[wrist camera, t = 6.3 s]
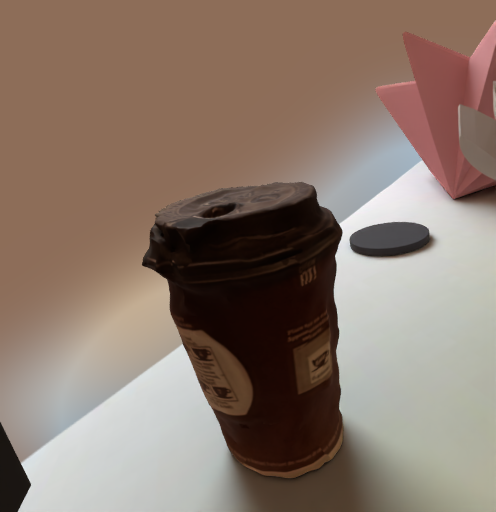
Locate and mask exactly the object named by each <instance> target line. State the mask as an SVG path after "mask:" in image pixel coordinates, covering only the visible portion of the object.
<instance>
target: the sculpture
mask: <svg viewBox="0 0 496 512" xmlns="http://www.w3.org/2000/svg"><path fill="white" fill-rule="evenodd" d="M403 39H404V44H405V47H406V51H407V54H408V57H409V61H410V64H411V68H412V71H413V74H414V78H415V81H411V82H405V83H398V84H391V85H384V86H379V87H377V88H376V92H377V95H378V96H379V98H380V99H381V101H382V102H383V103H384V105H385V107H386V108H387V109H388V111H389V112H390V114H391V115H392V117H393V118H394V120H395V121H396V122H397V124H398V125H399V127H400V128H401V130H402V131H403V132H404V134H405V135H406V137H407V138H408V140H409V141H410V143H411V144H412V145H413V147H414V148H415V150H416V151H417V153H418V154H419V156H420V157H421V158H422V160H423V161H424V162H425V164H426V165H427V167H428V168H429V170H430V171H431V173H432V174H433V175H434V176H435V178H436V179H437V180H438V181H439V183H440V184H441V185H442V186H443V187H444V189H445V190H446V191H447V192H448V194H449V195H450V196H451V197H452V198H453V199H455V198H458V197H461V196H464V195H467V194H470V193H473V192H476V191H479V190H482V189H485V188H488V187H491V186H494V185H496V180H494V179H492V178H490V177H488V176H486V175H484V174H483V173H481V172H480V171H478V170H477V169H476V168H475V167H473V166H472V165H471V164H470V163H469V162H468V161H467V159H466V158H465V157H464V155H463V153H462V151H461V149H460V144H459V125H458V106H459V104H461V105H464V106H467V107H470V108H473V109H475V110H477V111H479V112H481V113H483V114H485V115H487V116H489V117H491V118H493V119H494V120H495V121H496V119H495V115H494V111H493V81H496V20H495V22H494V23H493V25H492V26H491V28H490V29H489V31H488V32H487V34H486V35H485V37H484V38H483V40H482V41H481V43H480V44H479V46H478V47H477V49H475V51H474V53H473V54H472V56H471V57H468V56H465V55H462V54H460V53H458V52H455V51H453V50H450V49H448V48H445V47H443V46H441V45H438V44H436V43H433V42H430V41H428V40H426V39H423V38H420V37H418V36H416V35H413V34H411V33H408V32H404V33H403Z"/></svg>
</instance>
